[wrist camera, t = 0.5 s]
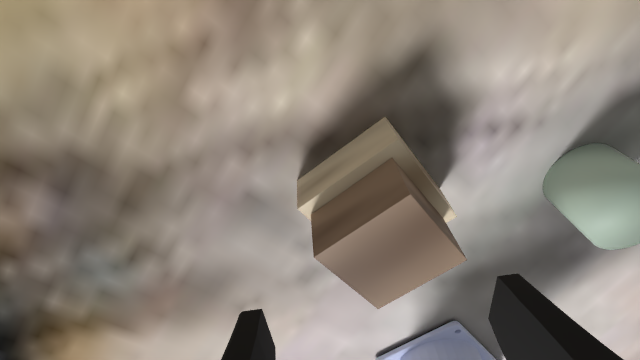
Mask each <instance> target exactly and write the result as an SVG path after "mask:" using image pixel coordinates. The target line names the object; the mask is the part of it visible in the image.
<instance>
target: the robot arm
mask: <svg viewBox="0 0 640 360" xmlns="http://www.w3.org/2000/svg"><path fill="white" fill-rule="evenodd" d="M489 321H490V323H491V326H492V328H493V331H494V333H495V336H496V338H497V341H498V343H499V345H500V347H501V350H502V352H503V354H504V356H505V358H506V360H623V359H622V358H621V357H619V356H618V355H617V354H615V353H614V352H613V351H611V350H610V349H609V348H607V347H606V346H605V345H604V344H602V343H601V342H600V341H598V340H597V339H596V338H595V337H593V336H592V335H591V334H590V333H588V332H587V331H586V330H585V329H583V328H582V327H581V326H580V325H578V324H577V323H576V322H575V321H574V320H572V319H571V318H570V317H569V316H568V315H566V314H565V313H564V312H563V311H562V310H560V309H559V308H558V307H557V306H556V305H554V304H553V303H552V302H551V301H550V300H548V299H547V298H546V297H545V296H544V295H543V294H541V293H540V292H539V291H538V290H537V289H536V288H534V287H533V286H532V285H531V284H530V283H529V282H527V281H526V280H525V279H524V278H523V277H521V276H520V275H519V274H511V275H504V276H498V277H497V281H496V286H495V290H494V295H493V300H492V304H491V309H490V313H489ZM221 360H275V345H274V342H273V339H272V337H271V334H270V331H269V328H268V325H267V322H266V319H265V316H264V314H263V311H262V309H258V310H250V311H243V312H241V313H240V315H239V317H238V320H237V323H236V325H235V328H234V330H233V333H232V335H231V338H230V340H229V343H228V345H227V347H226V350H225V352H224V354H223V357H222V359H221ZM375 360H496V359H495V358H494V357H493V356H492V355H491V354H490V353H489V352H488V351H487V350H486V349H485V348H484V347H483V346H482V345H481V344H480V343H479V342H478V341H477V340H476V339H475V338H474V337H473V336H472V335H471V334H470V333H469V332H468V331H467V330H466V329H465V328H464V327H463V326H462V325H461V324H460V323H459V322H458V321H451V322H449V323H447V324H445V325H443V326H441V327H439V328H437V329H435V330H433V331H431V332H429V333H427V334H425V335H422V336H420V337H418V338H416V339H414V340H412V341H410V342H408V343H406V344H404V345H402V346H400V347H398V348H396V349H394V350H392V351H390V352H388V353H386V354H384V355H381V356H379V357H378V358H376V359H375Z"/></svg>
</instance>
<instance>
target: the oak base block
mask: <svg viewBox="0 0 640 360" xmlns="http://www.w3.org/2000/svg"><path fill="white" fill-rule="evenodd" d="M390 158H393V159H394V160H395V161H396V162H397V164H398V165H399V166H400V167H401V168H402V170H403V171H404V172H405V173H406V174H407V176H408V177H409V178H410V179H411V180H412V182H413V183H414V184H415V185H416V186H417V188H418V189H419V190H420V191H421V192H422V194H423V195H424V196H425V197H426V198H427V200H428V201H429V202H430V203H431V204H432V206H433V207H434V208H435V209H436V210H437V211H438V213H439V214H440V215H441V216H442V217H443V219H444V220H445V222H446V223H447V222H449V221H450V220H452V219H454V218H455V217H457V216H456V214H455V213H454V211H453V209H452V208H451V206H450V205H449V203H448V201H447V200H446V198H445V197H444V195H443V193H442V192H441V190H440V188H439V187H438V186H437V184H436V183H435V182H434V181H433V179H432V178H431V177H430V175H429V174H428V173H427V171H426V170H425V169H424V167H423V166H422V165H421V163H420V162H419V161H418V159H417V158H416V157H415V155H414V154H413V153H412V151H411V150H410V149H409V147H408V146H407V145H406V143H405V142H404V141H403V139H402V138H401V137H400V135H399V134H398V133H397V131H396V130H395V129H394V127H393V126H392V125H391V123H390V122H389V121H388V119H387V118H386V117H384V118H382V119H381V120H380V121H378V122H377V123H375V124H374V125H373V126H371V127H370V128H369V129H367V130H366V131H364V132H363V133H362V134H360V135H359V136H358V137H356V138H355V139H353V140H352V141H351V142H349V143H348V144H347V145H345V146H344V147H342V148H341V149H340V150H338V151H337V152H336V153H334V154H333V155H331V156H330V157H329V158H327V159H326V160H325V161H323V162H322V163H320V164H319V165H318V166H316V167H315V168H314V169H312V170H311V171H309V172H308V173H307V174H305V175H304V176H303V177H301V178H300V179H298V180H297V207H298V210H299V211H300V212H301V213H303V214H304V215H305V216H306V217H307V218H308V219H309V220H310V221H311V214H312V213H314V212H315V211H317V210H318V209H319V208H321V207H322V206H324V205H325V204H327V203H328V202H329V201H331V200H332V199H334V198H335V197H336V196H338V195H339V194H341V193H342V192H344V191H345V190H346V189H348V188H349V187H351V186H352V185H353V184H355V183H356V182H358V181H359V180H361V179H362V178H363V177H365V176H366V175H368V174H369V173H371V172H372V171H373V170H375V169H376V168H378V167H379V166H380V165H382V164H383V163H385V162H386V161H388V160H389V159H390Z"/></svg>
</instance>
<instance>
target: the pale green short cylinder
mask: <svg viewBox="0 0 640 360" xmlns="http://www.w3.org/2000/svg"><path fill="white" fill-rule="evenodd" d="M543 193H544V195H545V197H546V198H547V199H548V200H549V201H550V202H551V203H552V204H553V205H554V206H555V207H556V208H557V209H558V210H559V211H560V212H561V213H562V214H563V215H564V216H565V217H566V218H567V219H568V220H569V221H570V222H571V223H572V224H573V225H574V226H575V227H576V228H577V229H578V230H579V231H581V232H582V233H583V234H584V235H585V236H586V237H587V238H588V239H589V240H590V241H591V242H592V243H593V244H594V245H595V246H597V247H599V248H602V249H607V250H617V249H623V248H628V247H631V246H634V245H637V244H639V243H640V164H639V163H637V162H635V161H634V160H632V159H630V158H629V157H627V156H625V155H624V154H622V153H621V152H619V151H617V150H616V149H614V148H612V147H611V146H609V145H606V144H601V143H594V144H587V145H583V146H580V147H578V148H575V149H573V150H571V151H570V152H568V153H566V154H565V155H563V156H562V157H561V158H560V159H558V160H557V161H556V162H555V163H554V164H553V165H552V167H551V168H550V169H549V171H548V172H547V174H546V176H545V179H544V182H543Z"/></svg>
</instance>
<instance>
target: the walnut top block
mask: <svg viewBox="0 0 640 360" xmlns="http://www.w3.org/2000/svg"><path fill="white" fill-rule="evenodd" d="M311 224H312V238H313V252H314V258H315V259H316V260H318V261H319V262H320V263H321V264H323V265H324V266H325V267H326V268H328V269H329V270H330V271H331V272H333V273H334V274H335V275H336V276H338V277H339V278H340V279H341V280H343V281H344V282H345V283H346V284H348V285H349V286H350V287H351V288H352V289H354V290H355V291H356V292H357V293H359V294H360V295H361V296H362V297H364V298H365V299H366V300H367V301H369V302H370V303H371V304H372V305H374V306H375V307H376V308H377V309H379V308H381V307H383V306H385V305H387V304H388V303H390V302H392V301H394V300H396V299H397V298H399V297H401V296H403V295H405V294H406V293H408V292H410V291H412V290H414V289H415V288H417V287H419V286H421V285H423V284H424V283H426V282H428V281H430V280H432V279H434V278H435V277H437V276H439V275H441V274H443V273H444V272H446V271H448V270H450V269H452V268H453V267H455V266H457V265H459V264H461V263H462V262H464V261H466V260H467V259H466V257H465V256H464V254H463V252H462V250H461V249H460V247H459V245H458V243H457V241H456V240H455V238H454V236H453V234H452V233H451V231H450V229H449V227H448V226H447V224H446V222H445V220H444V219H443V217H442V216H441V215H440V214H439V213H438V211H437V210H436V209H435V208H434V207H433V206H432V204H431V203H430V202H429V201H428V200H427V198H426V197H425V196H424V195H423V194H422V192H421V191H420V190H419V189H418V188H417V186H416V185H415V184H414V183H413V182H412V180H411V179H410V178H409V177H408V176H407V174H406V173H405V172H404V171H403V170H402V168H401V167H400V166H399V165H398V164H397V162H396V161H395V160H394V159H393V158H390V159H389V160H388V161H386V162H385V163H383V164H382V165H380V166H379V167H378V168H376V169H375V170H373V171H372V172H371V173H369V174H368V175H366V176H365V177H363V178H362V179H361V180H359V181H358V182H356V183H355V184H353V185H352V186H351V187H349V188H348V189H346V190H345V191H344V192H342V193H341V194H339V195H338V196H336V197H335V198H334V199H332V200H331V201H329V202H328V203H327V204H325V205H324V206H322V207H321V208H319V209H318V210H317V211H315V212H314V213H312V214H311Z"/></svg>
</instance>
